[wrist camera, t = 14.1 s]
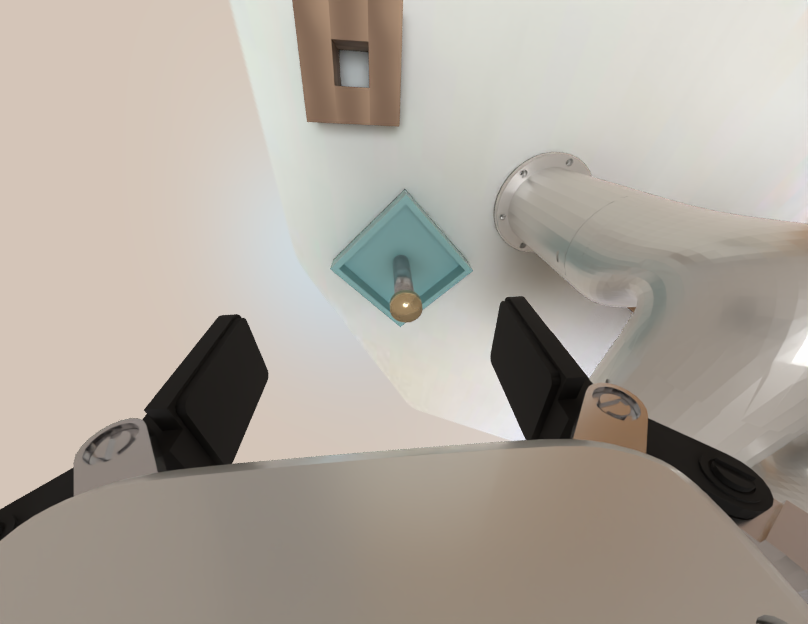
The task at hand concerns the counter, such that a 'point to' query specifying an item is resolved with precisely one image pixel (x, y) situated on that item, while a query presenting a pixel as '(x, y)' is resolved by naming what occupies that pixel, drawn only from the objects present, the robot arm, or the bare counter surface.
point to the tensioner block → (356, 31)
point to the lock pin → (404, 292)
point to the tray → (401, 235)
